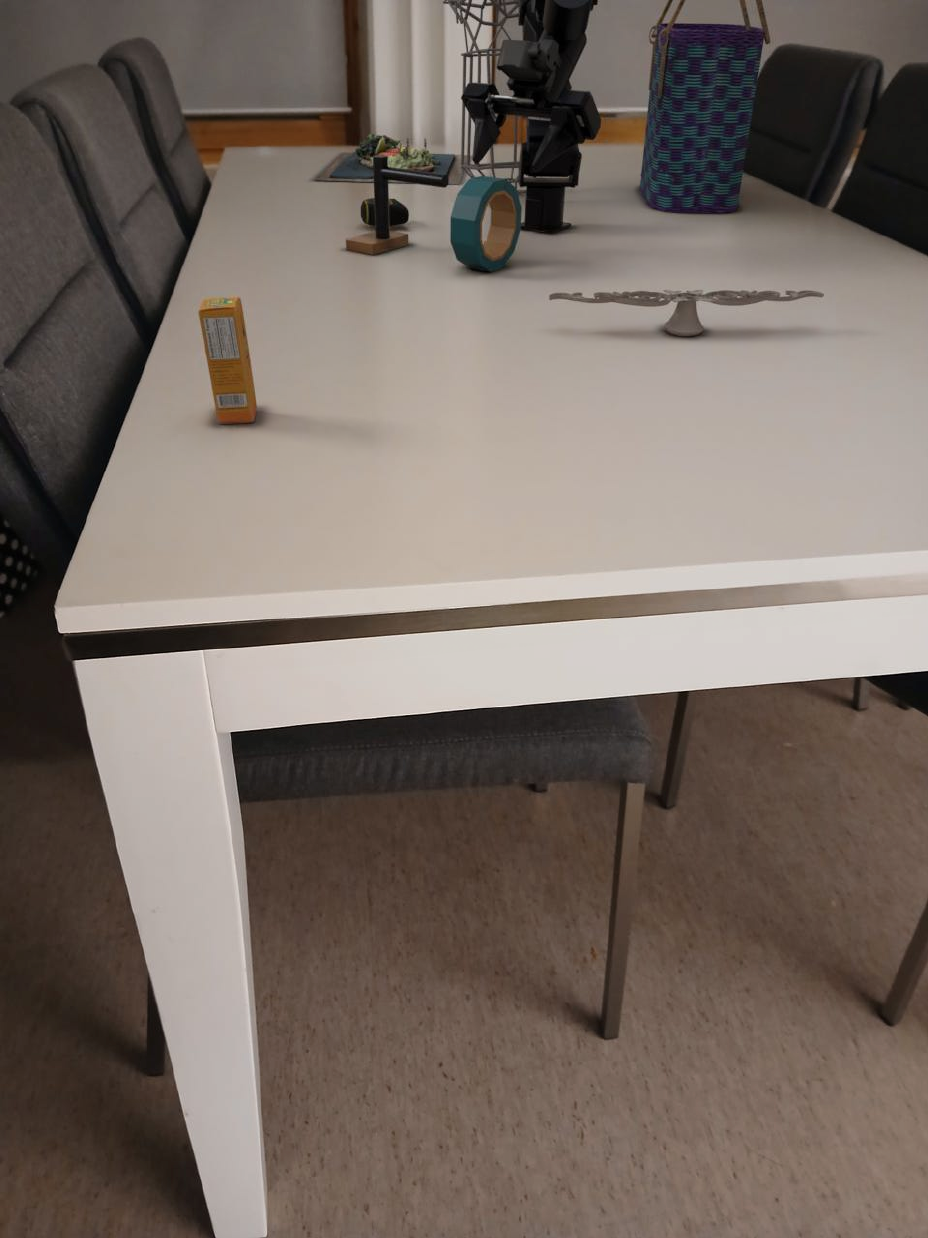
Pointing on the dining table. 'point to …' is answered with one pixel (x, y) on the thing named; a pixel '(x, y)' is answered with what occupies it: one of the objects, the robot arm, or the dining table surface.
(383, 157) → the hook
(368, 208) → the tape measure
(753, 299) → the wall hook
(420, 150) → the plated dish
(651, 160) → the basket
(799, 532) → the dining table surface
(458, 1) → the geometric lantern
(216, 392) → the supplement box
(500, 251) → the tape roll
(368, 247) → the hook base
